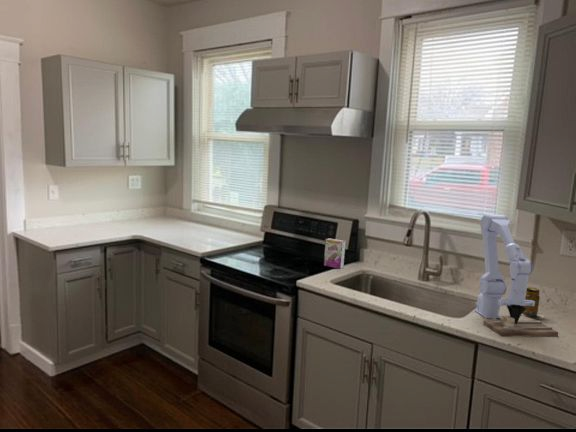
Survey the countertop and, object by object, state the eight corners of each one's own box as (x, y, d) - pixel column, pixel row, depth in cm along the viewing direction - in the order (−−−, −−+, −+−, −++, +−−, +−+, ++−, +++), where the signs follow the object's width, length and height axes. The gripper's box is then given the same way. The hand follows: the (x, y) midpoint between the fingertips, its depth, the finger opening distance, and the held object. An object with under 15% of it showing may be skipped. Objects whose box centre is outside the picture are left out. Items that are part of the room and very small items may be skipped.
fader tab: (499, 323, 177) (501, 314, 176) (506, 323, 177) (507, 314, 177) (506, 328, 172) (507, 318, 172) (513, 328, 173) (514, 318, 172)
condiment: (523, 311, 199) (526, 285, 198) (544, 316, 194) (547, 290, 192) (518, 314, 194) (522, 288, 192) (539, 320, 188) (543, 293, 187)
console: (483, 324, 180) (484, 318, 180) (536, 324, 183) (537, 318, 183) (501, 336, 168) (501, 330, 168) (557, 335, 172) (558, 330, 171)
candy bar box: (323, 266, 261) (325, 239, 259) (326, 264, 265) (328, 237, 263) (340, 269, 256) (342, 241, 253) (343, 267, 260) (345, 240, 258)
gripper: (507, 292, 168) (503, 326, 170) (541, 293, 170) (537, 326, 172) (496, 287, 175) (492, 319, 177) (529, 287, 177) (525, 320, 179)
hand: (513, 322), depth 175 cm, fingers closed
